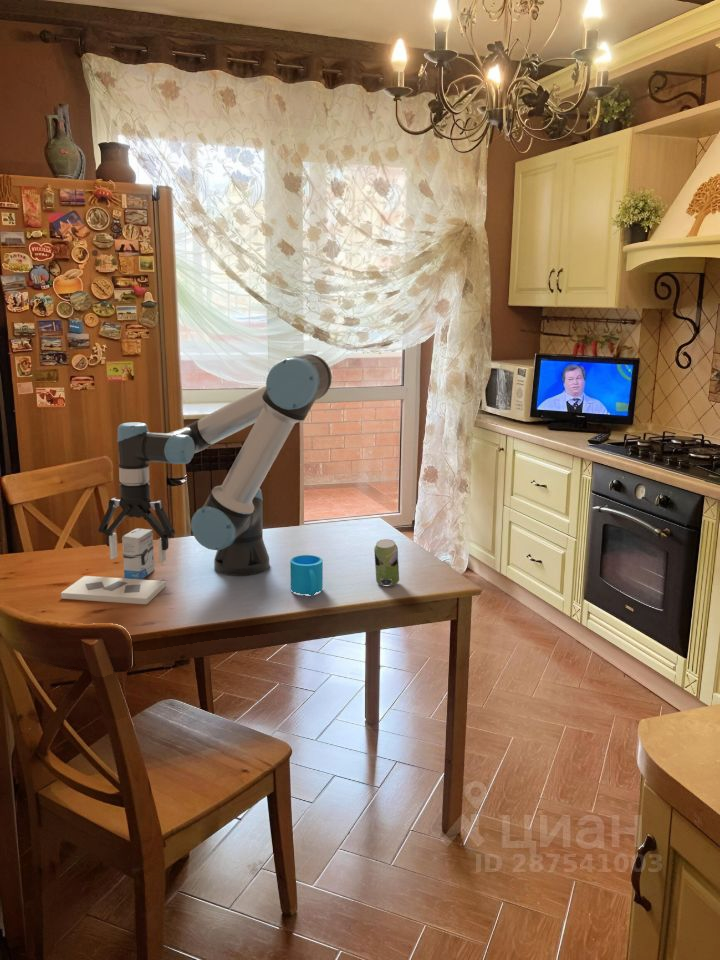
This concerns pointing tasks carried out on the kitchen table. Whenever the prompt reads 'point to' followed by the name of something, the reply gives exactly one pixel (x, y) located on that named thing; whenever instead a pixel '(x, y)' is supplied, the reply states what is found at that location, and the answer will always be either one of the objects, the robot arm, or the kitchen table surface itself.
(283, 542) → the kitchen table surface
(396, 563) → the beverage can
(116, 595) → the board
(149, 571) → the ink box
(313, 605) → the kitchen table surface
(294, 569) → the mug
